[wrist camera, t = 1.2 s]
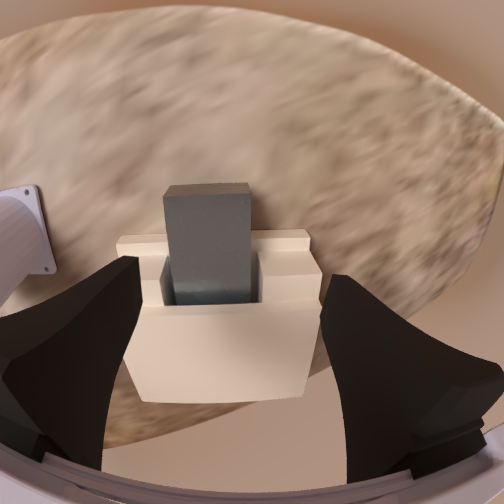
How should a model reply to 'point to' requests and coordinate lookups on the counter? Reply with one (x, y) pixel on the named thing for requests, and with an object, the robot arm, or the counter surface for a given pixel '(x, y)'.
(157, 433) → the counter surface
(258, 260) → the slotted box
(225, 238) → the gray block
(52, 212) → the counter surface
